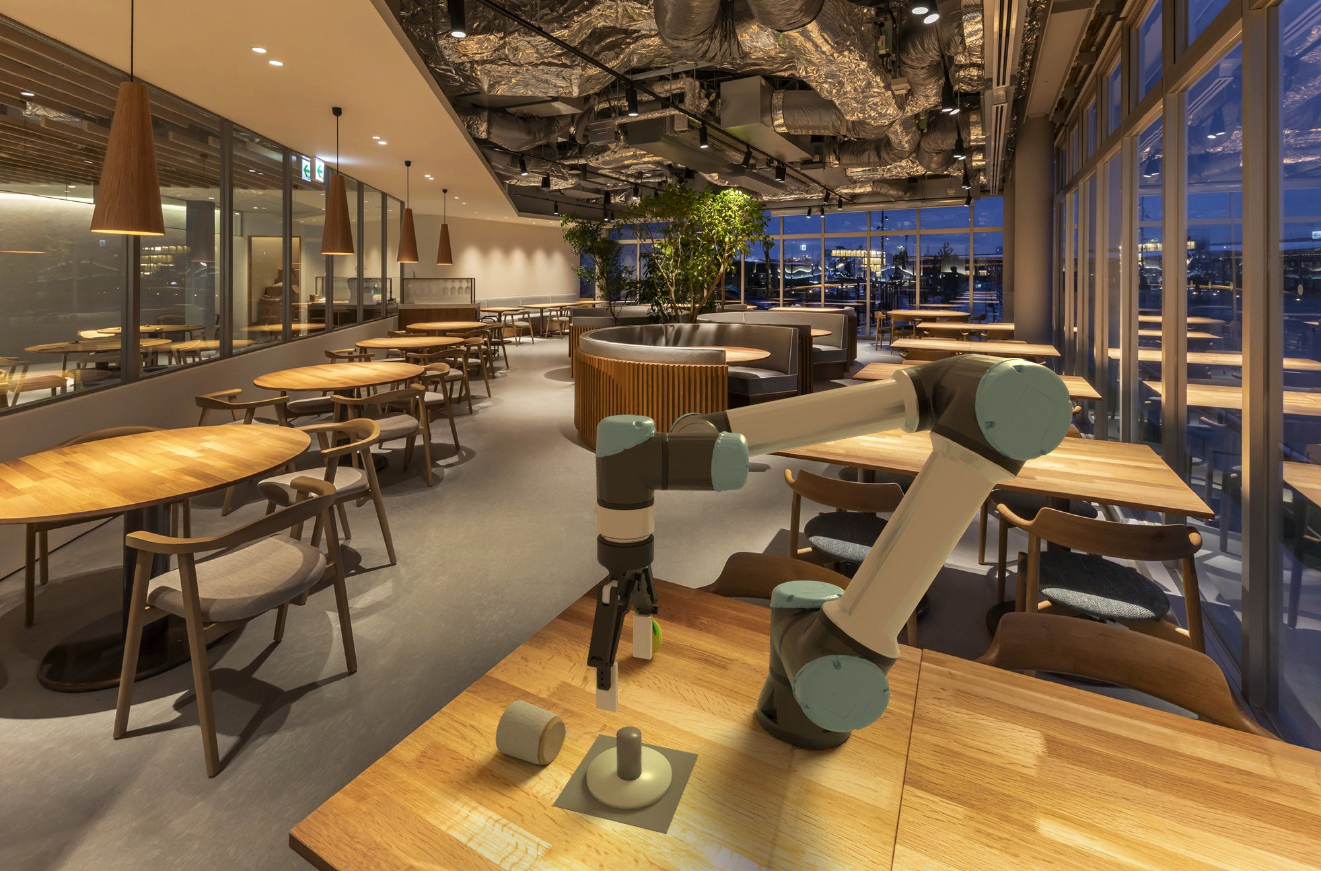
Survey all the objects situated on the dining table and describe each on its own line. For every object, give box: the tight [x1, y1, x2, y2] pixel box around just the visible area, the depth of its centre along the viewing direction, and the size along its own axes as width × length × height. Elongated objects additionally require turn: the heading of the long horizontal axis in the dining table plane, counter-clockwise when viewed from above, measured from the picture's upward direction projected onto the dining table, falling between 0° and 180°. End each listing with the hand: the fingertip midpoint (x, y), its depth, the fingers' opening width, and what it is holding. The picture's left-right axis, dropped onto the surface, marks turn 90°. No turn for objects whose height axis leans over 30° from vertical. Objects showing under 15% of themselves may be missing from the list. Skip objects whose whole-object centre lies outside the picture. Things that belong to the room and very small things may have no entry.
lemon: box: [634, 610, 664, 655], centre depth 128 cm, size 7×6×10 cm
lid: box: [587, 725, 672, 810], centre depth 94 cm, size 12×12×7 cm
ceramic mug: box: [495, 699, 568, 766], centre depth 101 cm, size 11×8×8 cm
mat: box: [552, 733, 700, 834], centre depth 95 cm, size 16×16×1 cm
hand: (625, 681), depth 92 cm, fingers open, 13 cm apart
